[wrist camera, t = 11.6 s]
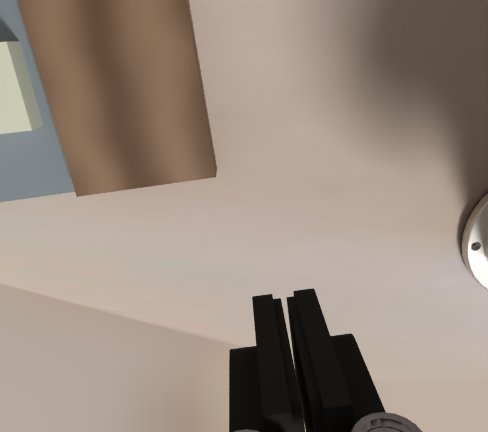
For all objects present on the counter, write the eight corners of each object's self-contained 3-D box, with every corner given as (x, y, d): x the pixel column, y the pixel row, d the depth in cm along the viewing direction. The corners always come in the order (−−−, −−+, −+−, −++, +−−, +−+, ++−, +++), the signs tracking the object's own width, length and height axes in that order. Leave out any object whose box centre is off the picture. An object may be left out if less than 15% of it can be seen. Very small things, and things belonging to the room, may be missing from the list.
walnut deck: (179, -55, 30) (175, -63, 27) (216, 168, 36) (215, 176, 33) (23, -31, 30) (5, -37, 28) (86, 186, 36) (76, 196, 34)
